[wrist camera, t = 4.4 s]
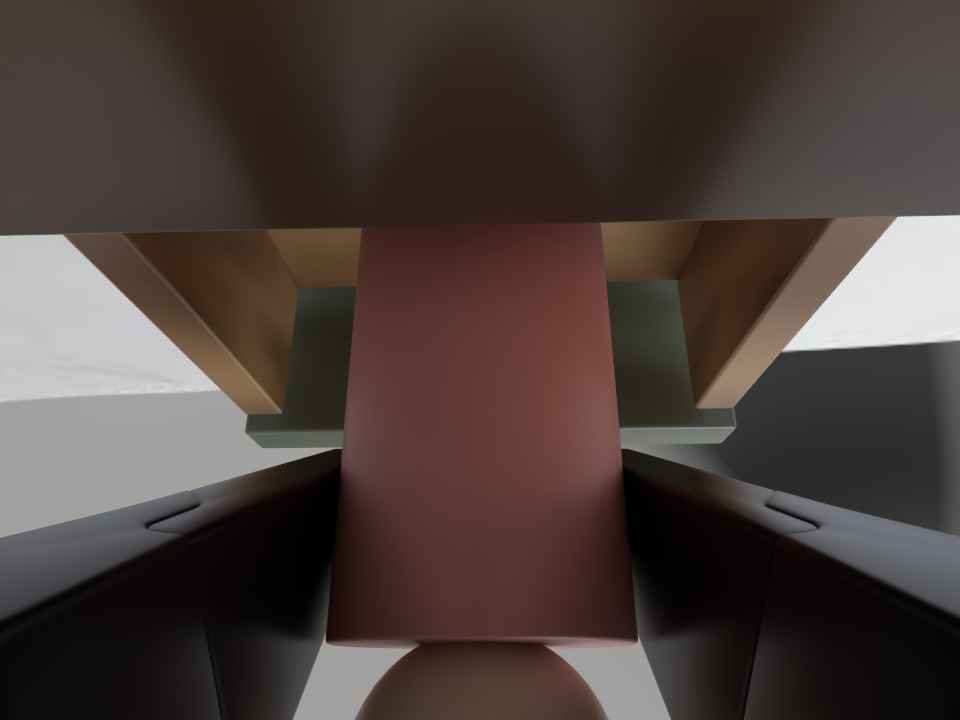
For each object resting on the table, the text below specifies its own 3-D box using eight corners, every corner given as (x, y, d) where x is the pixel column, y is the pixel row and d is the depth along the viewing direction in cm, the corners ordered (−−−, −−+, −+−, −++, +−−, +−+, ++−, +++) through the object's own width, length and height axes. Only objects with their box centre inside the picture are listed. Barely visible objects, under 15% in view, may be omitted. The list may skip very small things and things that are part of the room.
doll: (324, 193, 12) (230, 994, 8) (464, 50, 9) (447, 1184, 5) (492, 269, 15) (498, 918, 10) (644, 174, 12) (749, 1015, 7)
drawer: (688, 316, 18) (708, 458, 17) (294, 322, 19) (276, 463, 17) (1040, -371, 6) (1240, -98, 5) (-97, -316, 7) (-288, -42, 5)
